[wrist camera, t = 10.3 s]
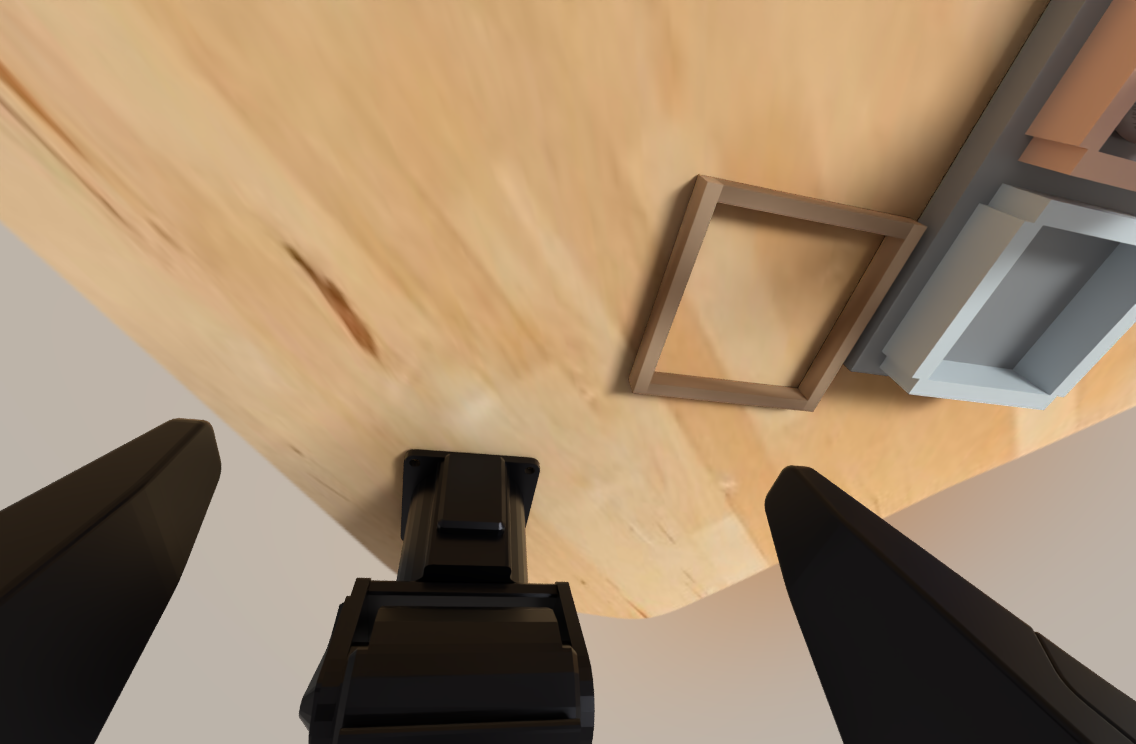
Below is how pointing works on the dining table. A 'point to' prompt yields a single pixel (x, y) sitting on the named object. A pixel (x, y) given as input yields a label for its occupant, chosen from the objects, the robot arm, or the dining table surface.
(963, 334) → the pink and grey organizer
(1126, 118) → the pill bottle
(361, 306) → the dining table surface
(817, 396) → the tray
